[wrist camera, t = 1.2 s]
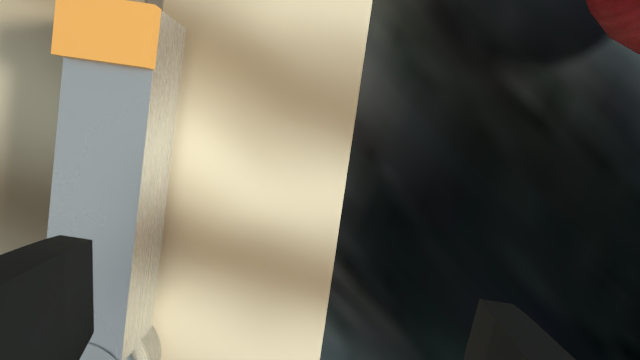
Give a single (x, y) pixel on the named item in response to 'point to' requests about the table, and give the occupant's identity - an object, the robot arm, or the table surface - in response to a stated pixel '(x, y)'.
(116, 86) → the clear plastic container
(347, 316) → the table surface
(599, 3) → the onion
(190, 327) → the wooden cutting board
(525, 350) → the robot arm
